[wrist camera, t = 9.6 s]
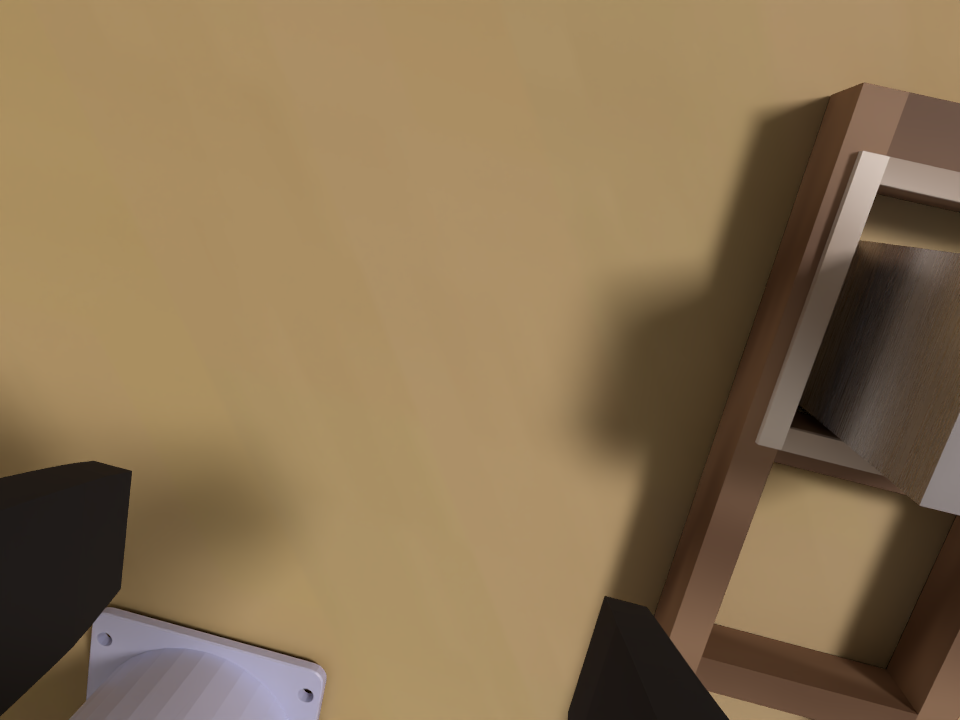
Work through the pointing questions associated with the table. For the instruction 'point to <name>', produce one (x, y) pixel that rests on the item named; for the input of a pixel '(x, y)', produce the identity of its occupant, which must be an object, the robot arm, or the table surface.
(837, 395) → the block
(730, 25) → the table surface
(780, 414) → the brown wooden compartment tray
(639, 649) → the robot arm
